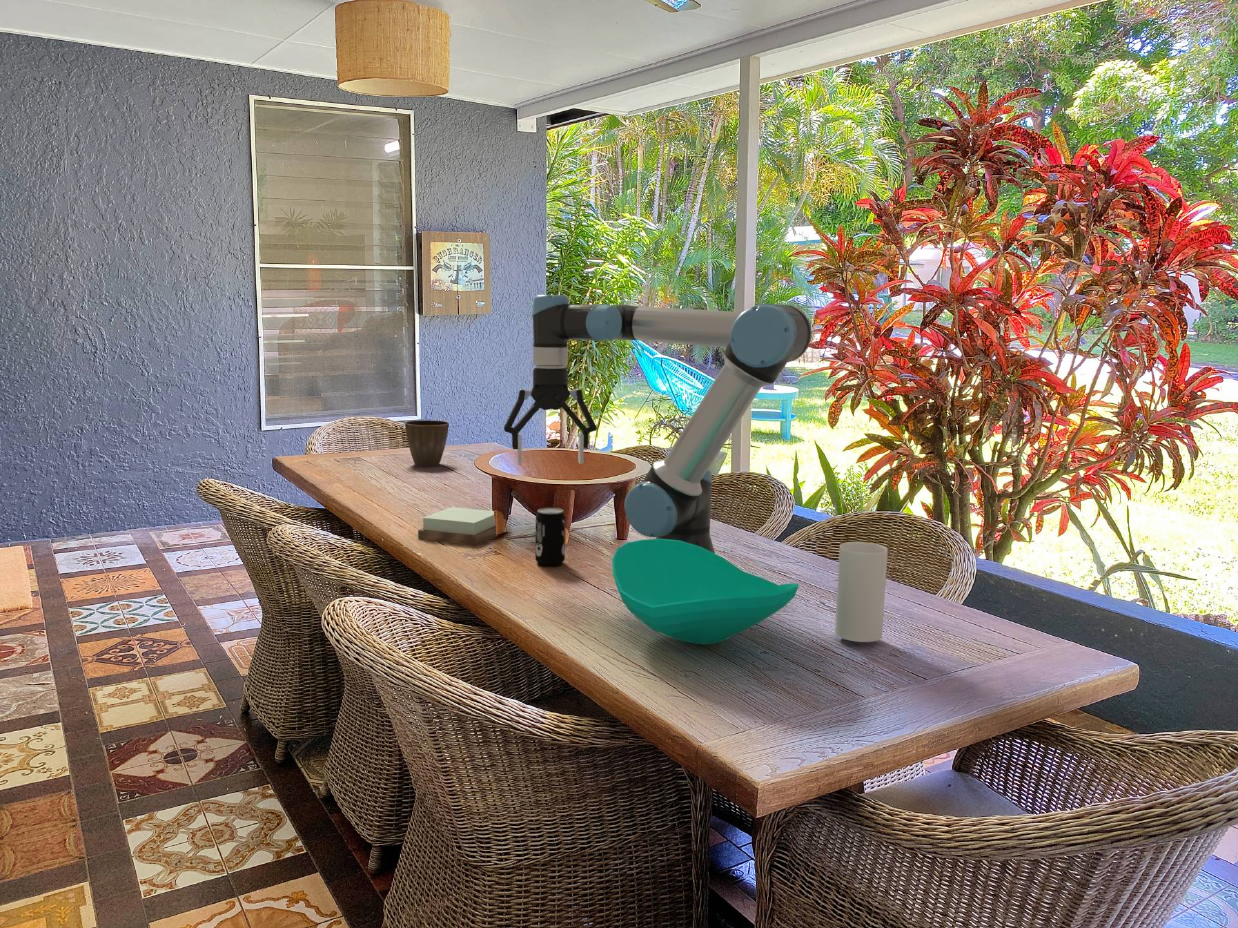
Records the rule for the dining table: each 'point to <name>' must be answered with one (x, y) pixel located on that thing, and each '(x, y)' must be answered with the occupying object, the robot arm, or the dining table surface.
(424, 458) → the plant pot
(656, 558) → the table top decor
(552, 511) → the beverage can
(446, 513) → the tower top
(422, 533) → the tower base
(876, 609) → the cup
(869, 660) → the dining table surface
